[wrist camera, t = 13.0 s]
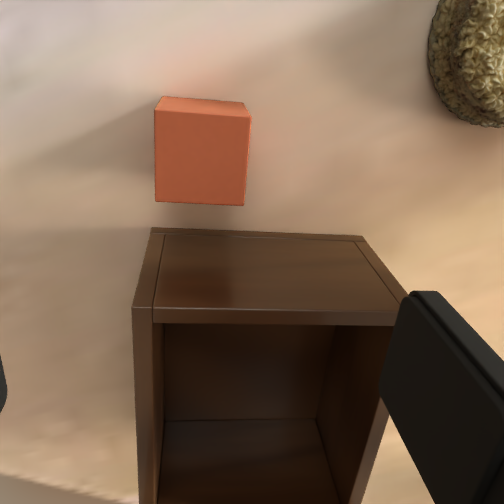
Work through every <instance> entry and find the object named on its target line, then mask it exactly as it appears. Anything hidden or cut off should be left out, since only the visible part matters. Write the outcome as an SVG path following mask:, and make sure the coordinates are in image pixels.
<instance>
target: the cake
mask: <svg viewBox="0 0 504 504" xmlns="http://www.w3.org/2000/svg"><path fill="white" fill-rule="evenodd" d="M432 22H433V24H432V30H431V33H430V36H429V39H428V40H429V44H430V45H429V53H428V57H429V60H430V74H431V75H432V77H433V79H434V82H435V83H434V85H435V89H436V90H437V92H438V93H439V96H440V97H441V99H442V102H443V103H444V104H445V105H446V107H447V108H449V111H451V112H454V113H456V114H457V116H458V117H459V119H462V120H467V121H469V122H470V124H474V125H481V126H483V127H490V126H491V127H495V128H499V127H504V0H440V1H439V4H438V8H437V12H436V15H435V16H434V18H433V20H432Z"/></svg>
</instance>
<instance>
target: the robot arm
mask: <svg viewBox="0 0 504 504" xmlns="http://www.w3.org/2000/svg"><path fill="white" fill-rule="evenodd" d="M378 388H379V394H380V396H381V399H382V401H383V402H384V404H385V406H386V408H387V410H388V412H389V414H390V416H391V418H392V420H393V422H394V424H395V426H396V428H397V430H398V432H399V434H400V436H401V438H402V440H403V442H404V444H405V446H406V448H407V450H408V452H409V454H410V455H411V457H412V459H413V461H414V463H415V465H416V467H417V469H418V471H419V473H420V475H421V477H422V479H423V481H424V483H425V485H426V487H427V489H428V491H429V493H430V495H431V497H432V499H433V501H434V503H435V504H504V361H503V360H502V359H501V358H500V357H499V356H498V355H497V354H496V353H495V351H494V350H493V349H492V348H491V347H490V346H489V345H488V344H487V343H486V342H485V341H484V340H483V339H482V338H481V337H480V336H479V334H478V333H477V332H476V331H475V330H474V329H473V328H472V327H471V326H470V325H469V324H468V323H467V322H466V321H465V320H464V319H463V317H462V316H461V315H460V314H459V313H458V312H457V311H456V310H455V309H454V308H453V307H452V306H451V305H450V304H449V303H448V302H447V300H446V299H445V298H444V297H443V296H442V295H441V294H440V293H439V292H437V291H412V292H410V294H409V295H408V296H406V297H404V298H403V299H402V301H401V304H400V307H399V311H398V315H397V318H396V322H395V325H394V329H393V332H392V336H391V339H390V343H389V346H388V350H387V353H386V357H385V361H384V364H383V368H382V371H381V375H380V378H379V383H378ZM6 398H7V384H6V379H5V375H4V370H3V365H2V361H1V356H0V413H1V411H2V409H3V407H4V405H5V402H6Z"/></svg>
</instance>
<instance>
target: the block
mask: <svg viewBox="0 0 504 504" xmlns="http://www.w3.org/2000/svg"><path fill="white" fill-rule="evenodd" d="M251 119H252V117H251V115H250V114H249V112H248V110H247V109H246V107H245V105H244V104H243V103H239V102H227V101H215V100H203V99H190V98H178V97H166V96H163V97H162V98H161V100H160V101H159V103H158V105H157V106H156V108H155V110H154V136H155V201H156V202H174V203H195V204H215V205H235V206H244V199H245V188H246V176H247V165H248V154H249V142H250V131H251Z"/></svg>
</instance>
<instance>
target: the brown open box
mask: <svg viewBox="0 0 504 504" xmlns="http://www.w3.org/2000/svg"><path fill="white" fill-rule="evenodd" d="M406 296H408V294H407V292H406V291H405V290H404V289H403V287H402V286H401V285H400V284H399V282H398V281H397V280H396V278H395V277H394V276H393V275H392V273H391V272H390V271H389V270H388V268H387V267H386V266H385V265H384V263H383V262H382V261H381V259H380V258H379V257H378V256H377V254H376V253H375V252H374V251H373V249H372V248H371V247H370V246H369V244H368V243H367V242H366V240H365V239H364V238H363V237H362V236H348V235H323V234H299V233H275V232H251V231H226V230H202V229H178V228H153V227H152V229H151V232H150V237H149V240H148V244H147V248H146V252H145V256H144V260H143V264H142V268H141V272H140V276H139V280H138V284H137V288H136V292H135V296H134V300H133V304H132V334H133V359H134V385H135V411H136V436H137V462H138V488H139V504H361V502H362V499H363V496H364V493H365V490H366V487H367V483H368V480H369V477H370V474H371V471H372V468H373V465H374V461H375V458H376V455H377V452H378V449H379V446H380V443H381V440H382V436H383V433H384V430H385V427H386V424H387V421H388V418H389V412H388V410H387V408H386V406H385V404H384V402H383V401H382V399H381V396H380V394H379V388H378V383H379V378H380V375H381V371H382V368H383V364H384V361H385V357H386V353H387V350H388V346H389V343H390V339H391V336H392V332H393V329H394V325H395V322H396V318H397V315H398V311H399V307H400V304H401V301H402V299H403V298H404V297H406Z"/></svg>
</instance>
